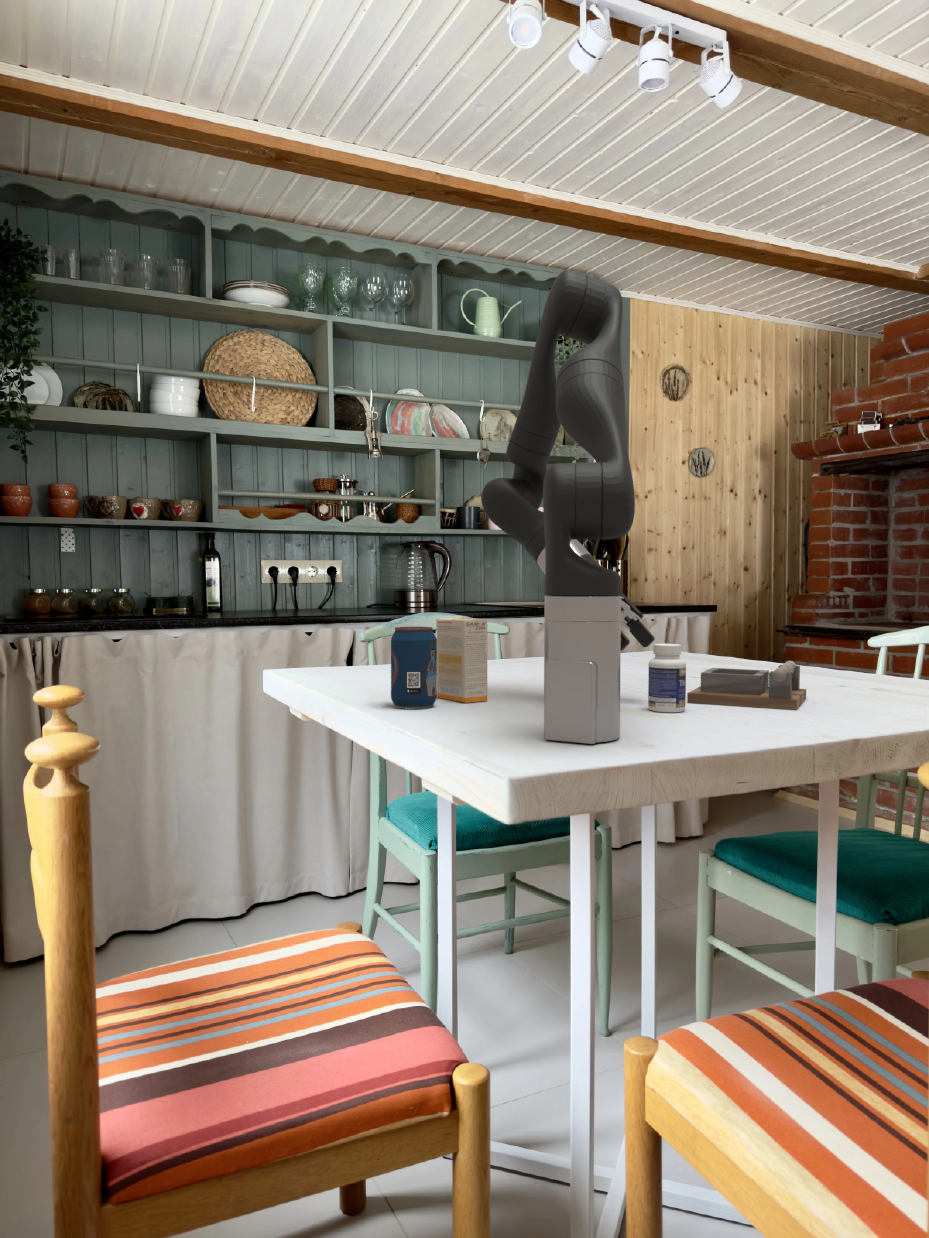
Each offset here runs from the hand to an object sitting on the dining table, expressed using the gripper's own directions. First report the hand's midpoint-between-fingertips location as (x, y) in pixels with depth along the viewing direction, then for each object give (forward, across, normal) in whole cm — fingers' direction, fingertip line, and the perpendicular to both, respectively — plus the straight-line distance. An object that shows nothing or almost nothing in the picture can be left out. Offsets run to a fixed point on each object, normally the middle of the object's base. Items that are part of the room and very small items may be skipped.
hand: (638, 645), depth 127 cm
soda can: (-13, -20, +26) cm, 35 cm away
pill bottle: (+10, 0, +3) cm, 11 cm away
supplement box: (-12, -10, +25) cm, 29 cm away
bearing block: (+14, +17, -1) cm, 22 cm away
